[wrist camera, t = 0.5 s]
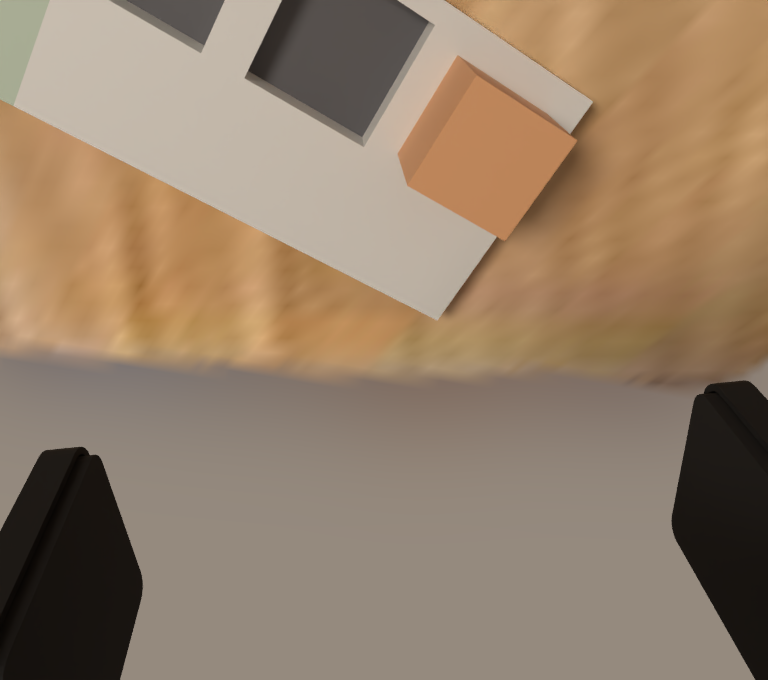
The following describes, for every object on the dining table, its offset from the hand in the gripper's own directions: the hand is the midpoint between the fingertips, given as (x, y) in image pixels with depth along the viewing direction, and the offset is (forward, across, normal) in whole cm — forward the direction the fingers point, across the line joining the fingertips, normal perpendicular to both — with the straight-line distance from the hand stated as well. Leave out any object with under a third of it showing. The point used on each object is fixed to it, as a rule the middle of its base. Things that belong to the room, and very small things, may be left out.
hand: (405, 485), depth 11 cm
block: (+24, -6, +1) cm, 25 cm away
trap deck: (+26, +5, -3) cm, 27 cm away
